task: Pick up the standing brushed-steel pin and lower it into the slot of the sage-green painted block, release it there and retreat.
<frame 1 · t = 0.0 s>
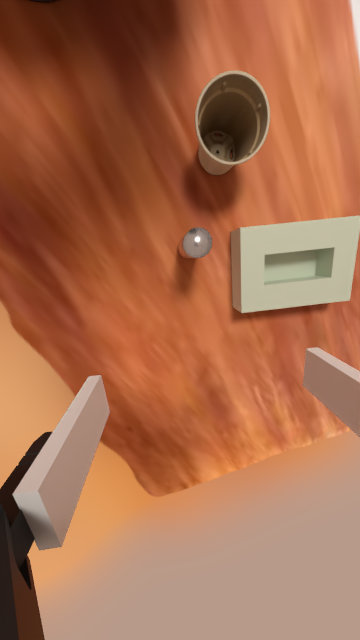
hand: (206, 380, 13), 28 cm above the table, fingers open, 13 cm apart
slot block: (282, 265, 40), on the table
flower pot: (216, 154, 34), on the table
pin: (187, 248, 37), on the table
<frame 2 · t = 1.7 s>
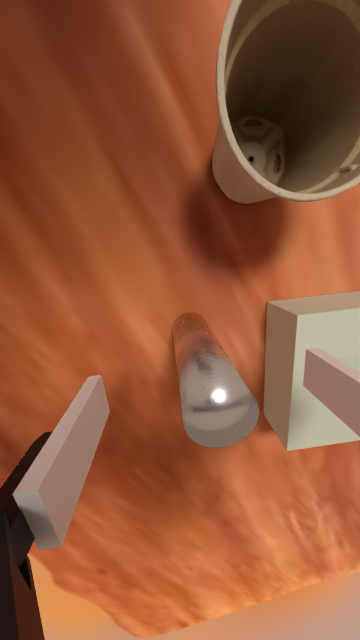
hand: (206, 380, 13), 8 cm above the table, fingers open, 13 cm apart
slot block: (351, 351, 23), on the table
flower pot: (246, 164, 17), on the table
pin: (190, 329, 21), on the table
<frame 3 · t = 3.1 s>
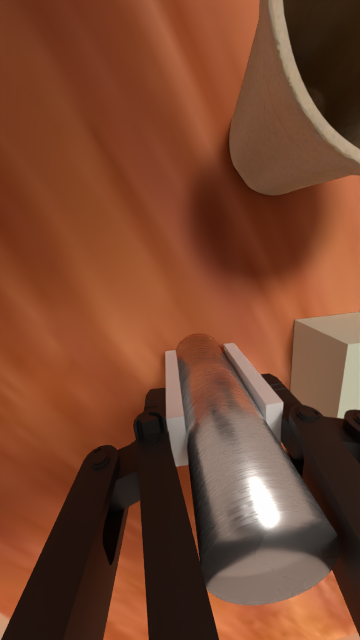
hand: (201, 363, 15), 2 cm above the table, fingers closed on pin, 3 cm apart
flower pot: (273, 143, 13), on the table
pin: (197, 354, 17), on the table, touching gripper
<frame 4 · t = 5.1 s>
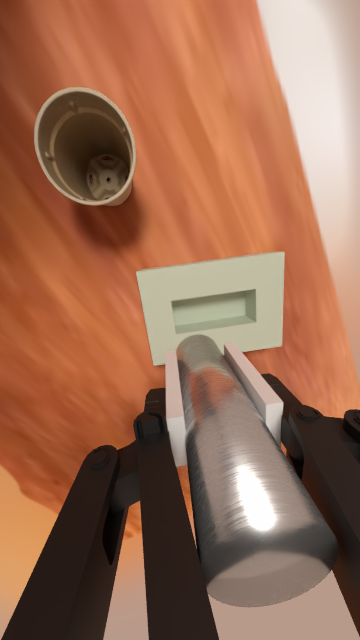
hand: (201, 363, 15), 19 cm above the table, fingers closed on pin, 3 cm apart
slot block: (207, 304, 34), on the table
flower pot: (109, 181, 28), on the table
pin: (197, 355, 17), point 18 cm above the table, touching gripper
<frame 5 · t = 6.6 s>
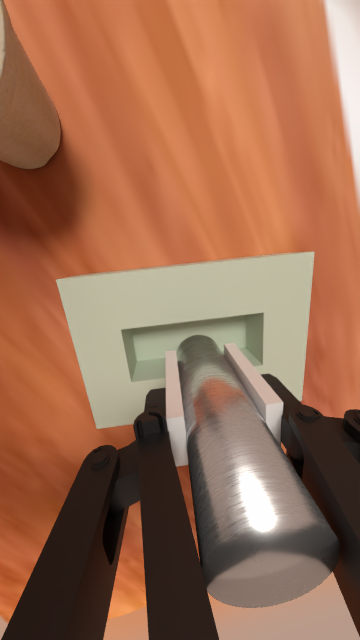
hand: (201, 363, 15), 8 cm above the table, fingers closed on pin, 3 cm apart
slot block: (189, 329, 23), on the table
flower pot: (22, 127, 17), on the table
pin: (198, 355, 17), point 6 cm above the table, touching gripper
when the fingers open (5 cm above the table, at t = 7.5 s): pin drops 2 cm, resting on slot block.
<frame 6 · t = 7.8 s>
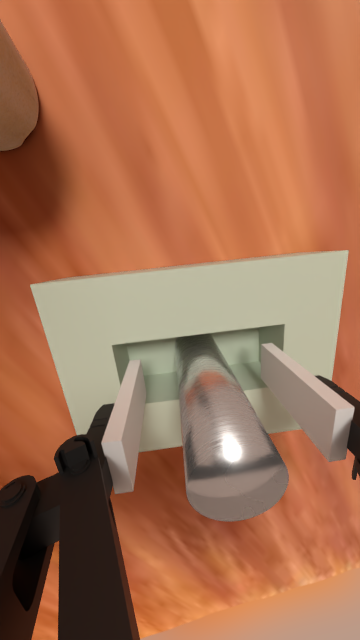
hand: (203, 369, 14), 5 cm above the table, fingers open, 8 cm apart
slot block: (192, 340, 20), on the table
pin: (194, 345, 19), point 1 cm above the table, touching slot block
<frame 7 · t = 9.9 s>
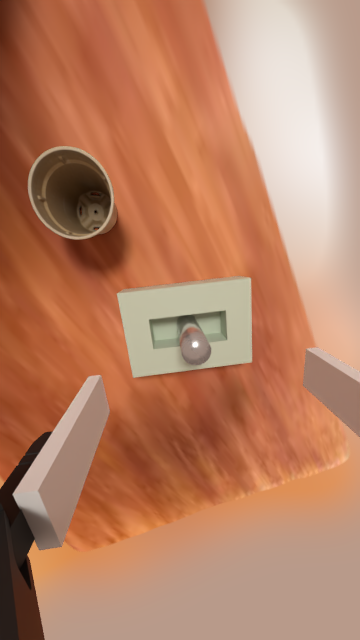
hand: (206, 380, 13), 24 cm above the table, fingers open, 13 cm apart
slot block: (186, 321, 37), on the table
flower pot: (96, 213, 32), on the table
pin: (186, 323, 36), point 1 cm above the table, touching slot block
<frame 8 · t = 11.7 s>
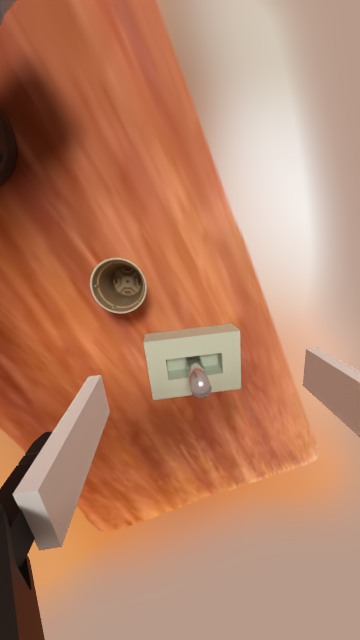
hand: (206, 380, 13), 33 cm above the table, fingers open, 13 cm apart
slot block: (191, 356, 49), on the table
flower pot: (127, 281, 43), on the table
pin: (192, 358, 48), point 1 cm above the table, touching slot block
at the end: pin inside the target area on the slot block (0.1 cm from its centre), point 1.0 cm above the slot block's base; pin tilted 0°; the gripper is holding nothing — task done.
